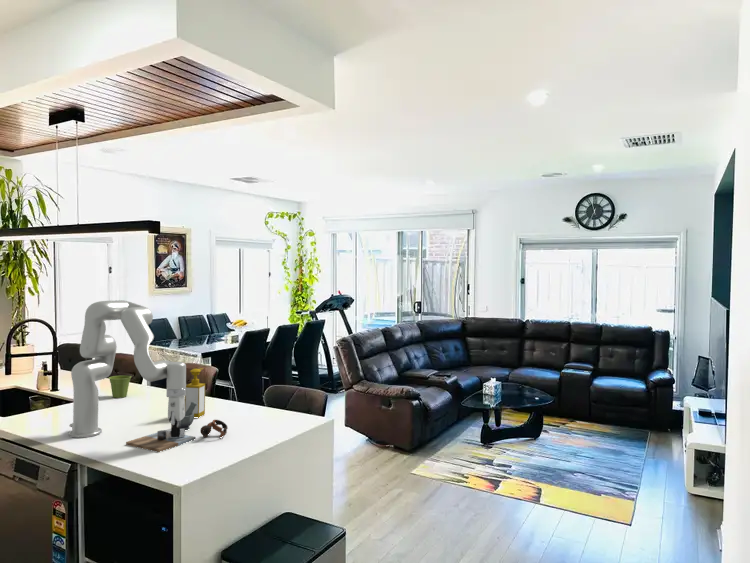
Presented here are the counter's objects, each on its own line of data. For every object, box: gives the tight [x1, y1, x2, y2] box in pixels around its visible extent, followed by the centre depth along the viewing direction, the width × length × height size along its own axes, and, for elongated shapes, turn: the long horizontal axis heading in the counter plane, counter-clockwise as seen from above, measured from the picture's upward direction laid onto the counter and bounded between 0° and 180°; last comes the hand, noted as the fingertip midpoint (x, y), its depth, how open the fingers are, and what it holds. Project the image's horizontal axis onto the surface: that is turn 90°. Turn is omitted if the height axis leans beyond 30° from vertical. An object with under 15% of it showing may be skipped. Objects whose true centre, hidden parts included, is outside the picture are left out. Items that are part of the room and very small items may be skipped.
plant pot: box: [108, 375, 132, 399], centre depth 302 cm, size 12×12×11 cm
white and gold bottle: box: [184, 368, 206, 419], centre depth 265 cm, size 7×13×24 cm, turn 174°
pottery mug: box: [199, 419, 229, 438], centre depth 227 cm, size 12×10×8 cm
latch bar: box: [156, 429, 186, 440], centre depth 221 cm, size 11×3×3 cm, turn 116°
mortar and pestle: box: [180, 402, 197, 431], centre depth 239 cm, size 11×9×12 cm
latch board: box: [125, 432, 196, 453], centre depth 219 cm, size 19×19×1 cm
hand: (175, 436), depth 219 cm, fingers closed
